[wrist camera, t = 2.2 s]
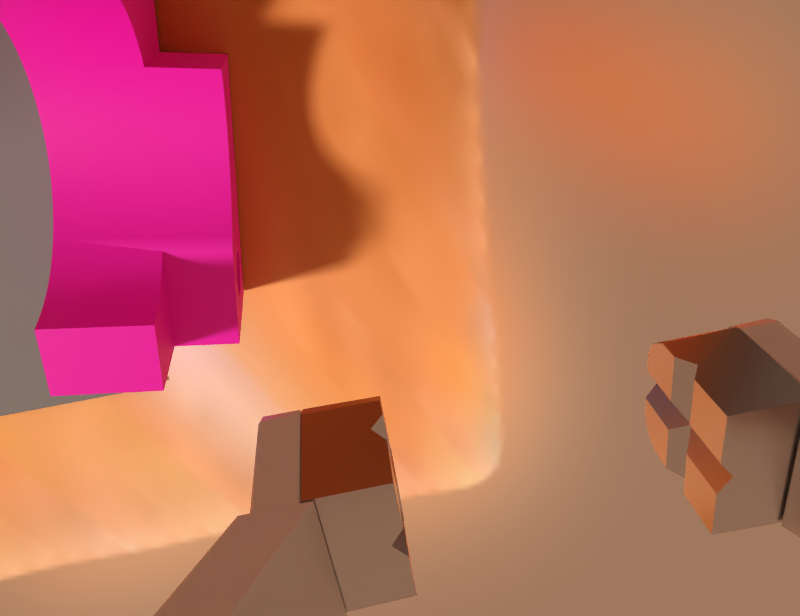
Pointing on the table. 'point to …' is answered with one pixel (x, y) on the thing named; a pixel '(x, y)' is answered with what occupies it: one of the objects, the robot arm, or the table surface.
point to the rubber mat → (23, 240)
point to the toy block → (130, 193)
